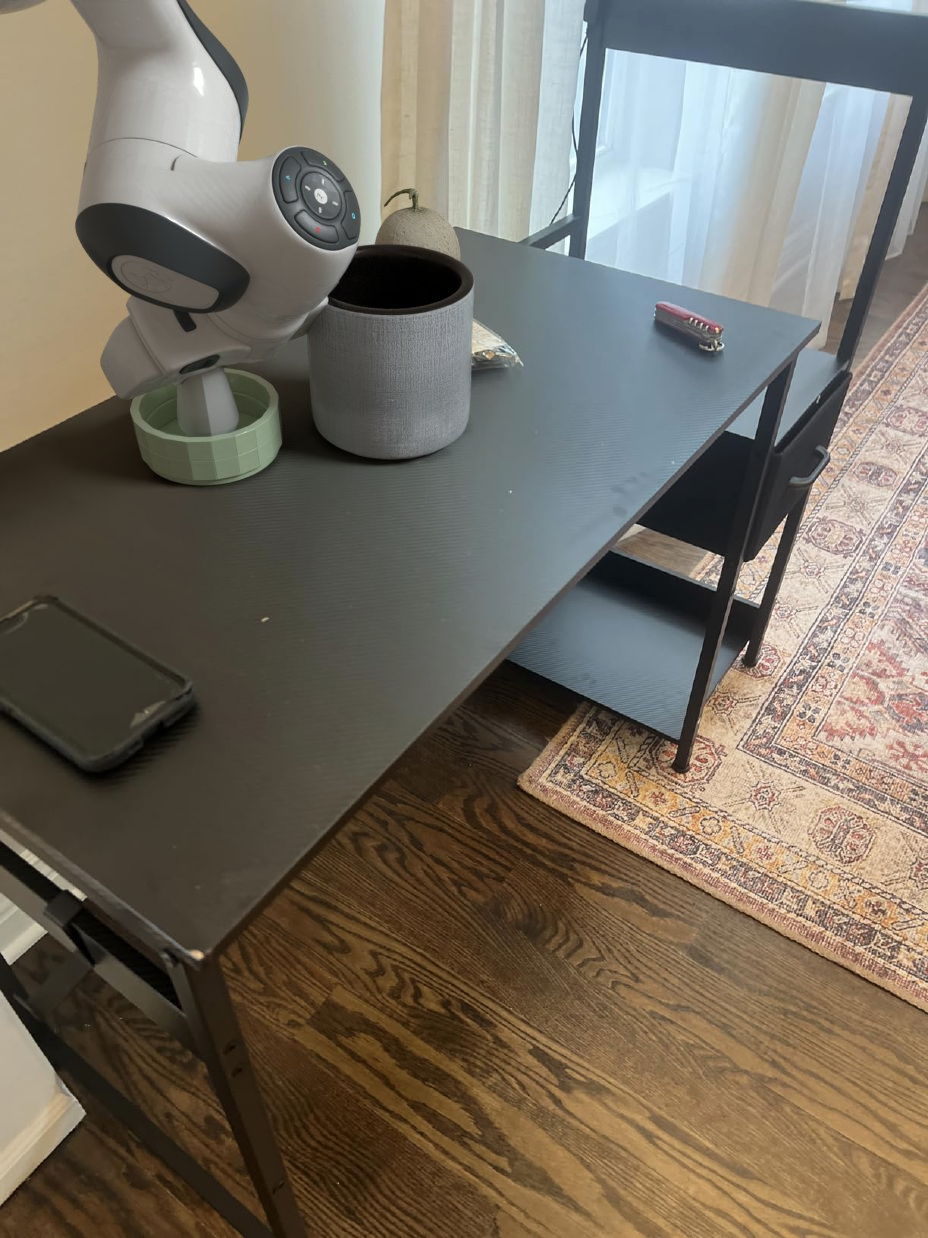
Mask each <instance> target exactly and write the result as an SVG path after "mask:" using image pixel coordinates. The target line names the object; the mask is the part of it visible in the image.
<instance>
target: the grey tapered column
mask: <svg viewBox="0 0 928 1238" xmlns="http://www.w3.org/2000/svg"><path fill="white" fill-rule="evenodd" d="M177 420H178V424H179V427H180V429H181V430H182V431H183V432H184V433H185V434H186V436H187V437H210V436H215V435H221V434H226V433H231V432H234V431H235V430H236V428H237V426H238V423H239V413H238V409H237V406H236V403H235V400H234V397H233V394H232V391H231V388H230V385H229V382H228V380H227V377H226V374H225V371H224V368H223V367H222V366H219V367H216V368H214V369H211V370H208V371H205V372H203V373H200V374H197V375H194V376H192V377H190V378H189V379H188V380H186V381H185V382H184V383H183V384H180V385H178V386H177Z"/></svg>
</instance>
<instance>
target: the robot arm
mask: <svg viewBox="0 0 928 1238" xmlns="http://www.w3.org/2000/svg"><path fill="white" fill-rule="evenodd" d="M48 1H49V0H0V15H1V16H2V15H9V14H14V13H17V12H21V11H26V10H28V9H31V8H34V7H36V6H39V5H41V4H43V3H47V2H48ZM69 2H70V3H71V5H72V6H73V7H74V10H76V12H77V13H78V15H79V16H80V17H81V19H82V20H83V21H84V23H85V24H86V26H87V27H88V28H89V30H90V32H91V33H92V35H93V37H94V40H95V41H94V42H95V46H96V52H97V53H96V54H97V82H96V96H95V103H94V108H93V115H92V121H91V128H90V134H89V140H88V144H87V145H88V146H87V151H86V157H85V162H84V167H83V173H82V176H81V177H82V178H81V184H80V191H79V197H78V204H77V212H76V219H75V222H74V229H75V234H76V236H77V239H78V241H79V243H80V245H81V247H82V249H83V251H84V252H85V253H86V254H87V256H88V257H89V259H90V260H91V261H92V262H93V263H94V265H95V266H96V267H97V268H98V269H99V270H100V272H102V273H103V274H104V275H105V276H106V277H107V278H108V279H109V280H110V281H112V282H113V283H114V284H115V285H116V286H117V287H119V288H120V289H121V290H123V292H125V293H127V294H129V295H130V296H129V297H128V299H127V301H126V302H125V307H126V309H127V312H128V314H129V315H128V316H126V317H125V318H123V319H122V320H120V322H118V324H117V325H116V326H115V328H114V329H113V331H112V333H111V334H110V335H109V338H108V340H107V342H106V344H105V345H104V348H103V350H102V353H101V355H100V359H99V364H100V368H101V371H102V372H103V374H104V376H105V378H106V380H107V382H108V384H109V385H110V387H111V389H112V390H113V392H114V393H115V395H116V396H117V397H118V398H119V399H121V400H125V401H126V400H133V399H134V398H135V397H137V396H140V395H143V394H145V393H148V392H151V391H153V390H156V389H159V388H162V387H164V386H167V385H170V384H173V385H174V386H178V385H180V384H183V383H184V382H185V381H186V380H188V379H189V378H190V377H192V376H194V375H197V374H200V373H203V372H205V371H208V370H211V369H214V368H216V367H219V366H222V367H223V368H229V367H230V366H231V365H236V364H238V363H242V364H254V363H260V362H264V361H267V360H269V359H270V358H273V357H274V356H275V355H276V354H278V352H280V351H281V350H282V348H284V346H285V345H286V344H287V343H288V342H290V341H293V340H296V339H298V338H302V337H303V336H305V335H306V336H307V333H308V331H309V329H310V327H311V326H312V324H313V323H314V321H315V320H316V319H317V317H318V316H319V315H320V314H321V313H322V312H323V310H324V308H325V307H326V305H327V303H328V297H327V295H328V294H329V293H330V292H331V291H332V290H333V289H334V288H335V287H336V286H337V284H338V283H339V280H340V278H341V277H342V275H343V274H344V272H345V271H346V269H347V267H348V266H349V264H350V262H351V260H352V258H353V256H354V254H355V252H356V250H357V247H358V246H359V244H360V240H361V234H362V215H361V208H360V204H359V202H358V198H357V196H356V193H355V191H354V188H353V186H352V185H351V183H350V180H349V179H348V177H347V176H346V174H345V173H344V172H343V171H342V169H341V168H340V167H339V166H338V165H337V163H335V162H334V161H333V160H332V159H331V158H330V157H329V156H327V155H326V154H324V153H323V152H321V151H319V150H317V149H315V148H313V147H310V146H306V145H289V146H287V147H286V146H285V147H284V148H282V149H280V150H278V151H275V152H274V153H271V154H269V155H268V156H267V155H266V156H265V157H261V158H257V159H251V160H242V161H238V154H239V147H240V144H241V140H242V136H243V131H244V127H245V123H246V117H247V112H248V108H249V101H250V99H249V98H250V96H249V88H248V84H247V81H246V79H245V76H244V74H243V72H242V70H241V69H242V68H240V66H239V64H238V63H237V61H236V60H235V58H234V57H233V56H232V54H231V53H230V51H229V50H228V49H227V48H226V46H224V45H223V44H222V42H221V41H220V40H219V39H218V38H217V36H215V34H214V33H213V32H212V31H211V30H210V29H209V28H208V26H206V24H205V23H203V21H202V20H201V19H200V17H199V16H198V15H197V14H196V12H195V11H194V10H193V8H192V7H191V5H190V4H189V3H188V1H187V0H69Z"/></svg>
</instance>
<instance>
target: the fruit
mask: <svg viewBox="0 0 928 1238" xmlns="http://www.w3.org/2000/svg"><path fill="white" fill-rule="evenodd" d="M403 194H408V200H410V201H412V206H408V207H404V208H401V209H397V210H395V211H393V212H391V213H390V214H389V215H388V216H387V217H386V218H385V219H384V220H383V222H382V223H381V224H380V227H379V229H378V231H377V233H376V236H375V241H374V244H401V245H411V246H418V247H423V248H428V249H432V250H435V251H438V252H441V253H444V254H447V255H449V256H451V257H453V258H455V259H457V260H459V261H460V262H461V248H460V243H459V239H458V236H457V232H456V231H455V229H454V227H453V225H452V224H451V222H450V221H449V220H448V219H447V218H446V217H445V216H444V215H443V214H441V213H439V212H437V211H435V210H434V209H431V208H428V207H426V206H420V205H419V191H418V190H417V189H415V188H412V187H409V188H403V189H400V190H398V191H396V192H394V193H393V194H392V195H391V196H390V197H389V198H388V199H387V200H386V202H385V203H384V205H383V208H385V207H388V205H389V203H390V202H391V201H392V200H393V199H394V198H396V197H399V196H400V195H403Z"/></svg>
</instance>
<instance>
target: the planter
mask: <svg viewBox="0 0 928 1238" xmlns="http://www.w3.org/2000/svg"><path fill="white" fill-rule="evenodd" d="M327 297H328V303H327V305H326V307H325V308H324V310H323V312H322V313H321V314H320V315H319V316H318V317H317V319H316V320H315V321H314V323H313V324H312V326H311V327H310V329H309V331H308V333H307V334H306V345H307V346H306V347H307V361H308V375H309V377H308V378H309V390H310V391H309V393H310V403H311V404H310V405H311V415H312V419H313V422H314V426H315V428H316V429H317V431H318V433H319V434H320V435H321V436H322V437H323V438H324V439H325V440H326V441H328V442H329V443H331V444H332V445H334V446H335V447H337V448H339V449H341V450H343V451H346V452H348V453H350V454H353V455H356V456H359V457H363V458H368V459H375V460H382V461H384V460H385V461H398V460H411V459H415V458H419V457H420V458H421V457H423V456H428V455H431V454H433V453H436V452H438V451H440V450H442V449H444V448H446V447H448V446H450V445H451V444H452V443H454V441H457V440H458V438H460V437H461V436H462V435H463V433H464V432H465V431H466V429H467V427H468V424H469V420H470V415H471V400H472V399H471V397H472V366H473V365H472V362H473V361H472V359H473V327H474V299H475V277H474V274H473V272H472V271H471V270H470V269H469V267H468V266H467V265H466V264H465V263H464V262H462V261H461V260H460V261H459V260H457V259H455V258H453V257H451V256H449V255H447V254H444V253H441V252H438V251H435V250H432V249H428V248H423V247H418V246H411V245H401V244H375V243H373V244H362V245H358V247H357V250H356V252H355V254H354V256H353V258H352V260H351V262H350V264H349V266H348V267H347V269H346V271H345V272H344V274H343V275H342V277H341V278H340V280H339V283H338V284H337V286H336V287H335V288H334V289H333V290H332V291H331V292H330V293H329V294H328V295H327Z"/></svg>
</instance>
